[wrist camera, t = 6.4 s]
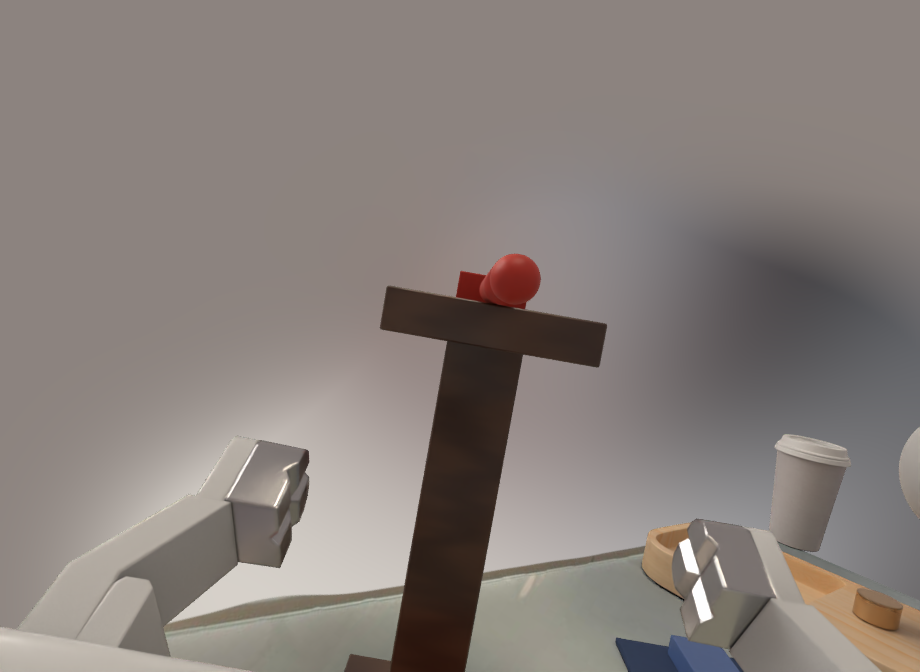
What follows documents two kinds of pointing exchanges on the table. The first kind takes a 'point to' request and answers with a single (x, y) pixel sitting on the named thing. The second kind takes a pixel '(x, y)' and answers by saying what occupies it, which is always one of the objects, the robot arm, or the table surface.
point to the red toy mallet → (502, 282)
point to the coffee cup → (805, 490)
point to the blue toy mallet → (698, 656)
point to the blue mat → (648, 657)
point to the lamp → (834, 587)
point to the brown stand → (464, 460)
